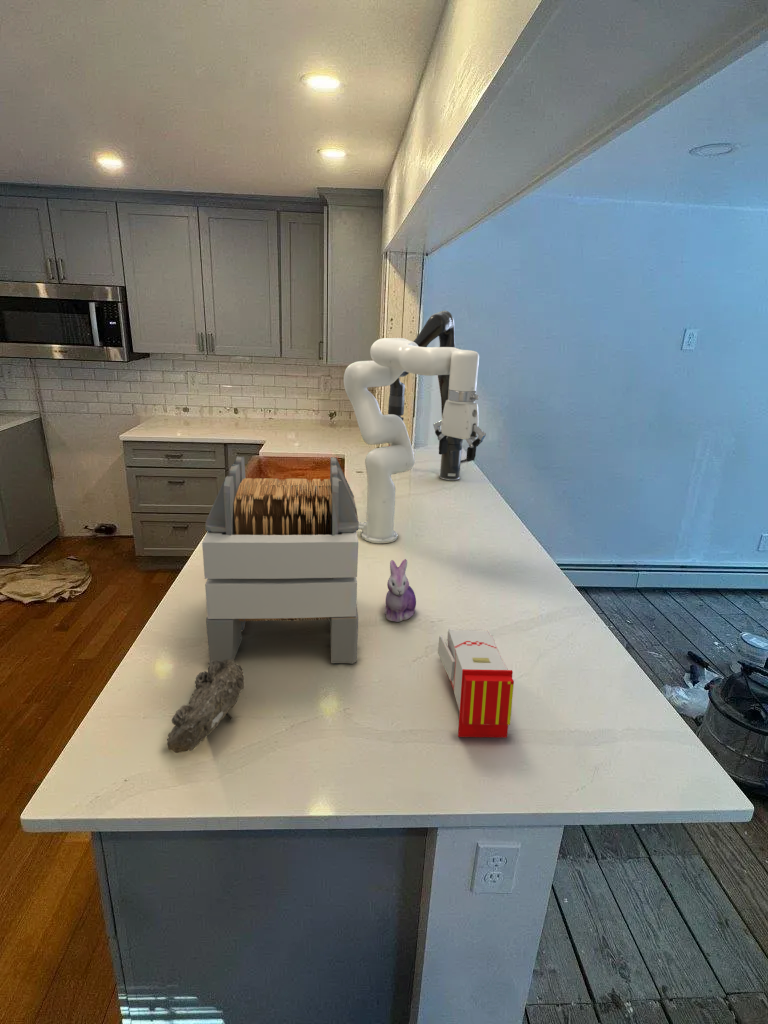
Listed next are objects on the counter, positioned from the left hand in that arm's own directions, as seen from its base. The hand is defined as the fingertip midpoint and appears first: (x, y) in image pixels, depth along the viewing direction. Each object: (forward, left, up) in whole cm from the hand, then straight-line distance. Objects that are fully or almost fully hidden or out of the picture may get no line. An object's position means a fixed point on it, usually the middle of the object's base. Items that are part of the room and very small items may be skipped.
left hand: (456, 457), depth 162 cm
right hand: (-47, +105, -21) cm, 117 cm away
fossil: (-30, -81, -36) cm, 93 cm away
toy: (+16, -56, -36) cm, 69 cm away
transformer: (-31, -46, -36) cm, 66 cm away
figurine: (-6, -31, -36) cm, 48 cm away
